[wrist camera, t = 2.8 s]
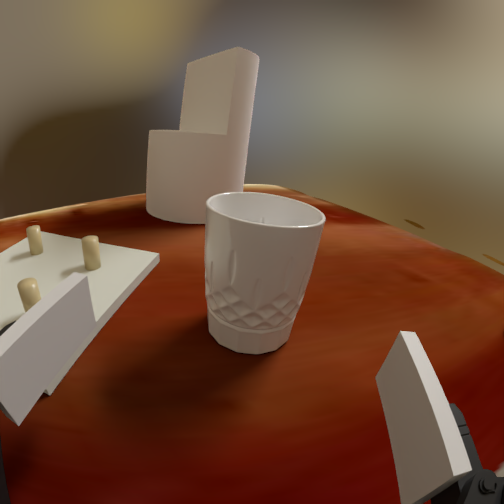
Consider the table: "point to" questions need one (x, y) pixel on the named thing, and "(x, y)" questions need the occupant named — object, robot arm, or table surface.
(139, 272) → the standoff plate
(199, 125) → the cylinder
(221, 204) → the white cup
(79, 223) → the table surface
